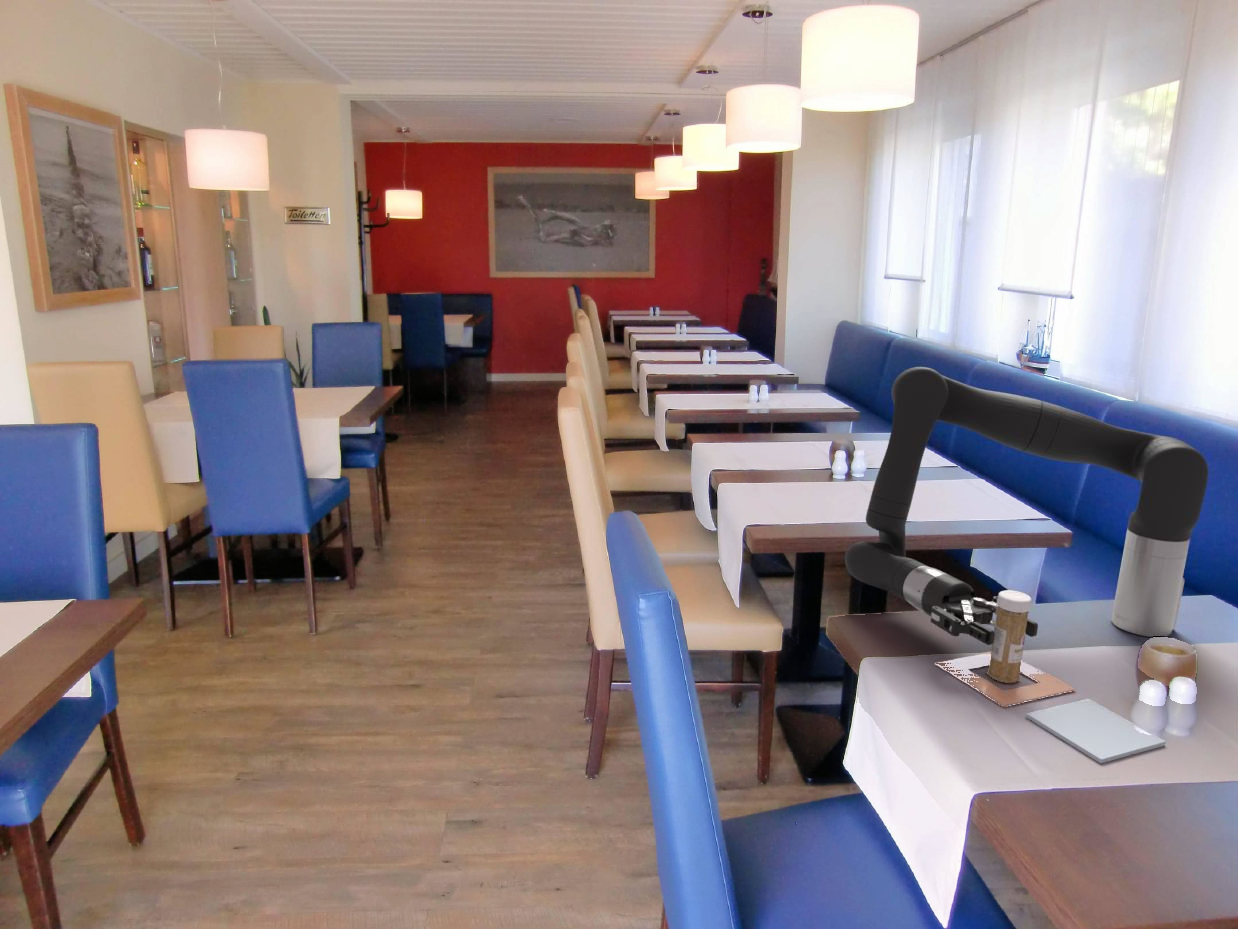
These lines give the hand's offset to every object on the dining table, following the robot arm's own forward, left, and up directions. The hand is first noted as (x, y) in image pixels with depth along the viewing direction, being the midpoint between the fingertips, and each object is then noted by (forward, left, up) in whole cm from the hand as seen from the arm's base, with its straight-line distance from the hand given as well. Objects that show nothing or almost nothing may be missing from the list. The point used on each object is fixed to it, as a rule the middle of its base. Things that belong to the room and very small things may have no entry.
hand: (1014, 634), depth 132 cm
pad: (0, +15, -8) cm, 17 cm away
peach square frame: (0, -1, -8) cm, 8 cm away
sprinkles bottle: (0, -1, -8) cm, 8 cm away
